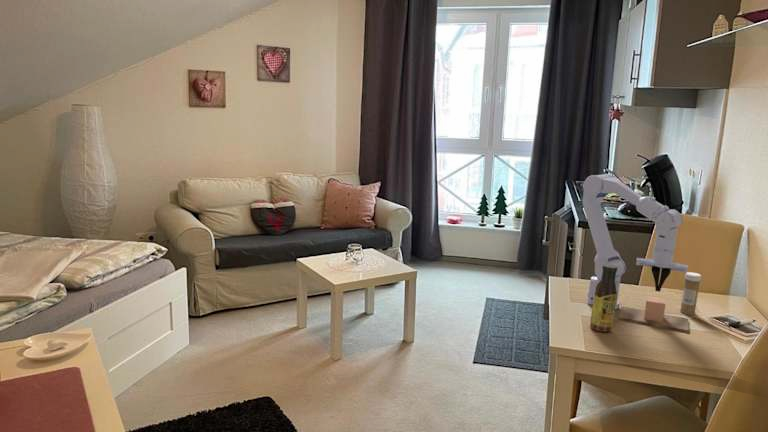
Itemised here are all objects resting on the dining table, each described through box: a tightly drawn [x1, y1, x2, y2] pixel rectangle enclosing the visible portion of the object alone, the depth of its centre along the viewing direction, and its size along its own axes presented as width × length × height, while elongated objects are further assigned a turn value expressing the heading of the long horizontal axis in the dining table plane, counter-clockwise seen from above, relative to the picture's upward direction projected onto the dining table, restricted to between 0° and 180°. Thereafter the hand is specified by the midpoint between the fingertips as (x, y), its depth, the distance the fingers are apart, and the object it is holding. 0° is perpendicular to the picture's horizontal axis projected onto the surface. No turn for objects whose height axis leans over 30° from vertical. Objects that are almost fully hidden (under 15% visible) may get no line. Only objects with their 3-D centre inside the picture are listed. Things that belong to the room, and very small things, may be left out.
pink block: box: [644, 295, 666, 322], centre depth 187 cm, size 5×5×6 cm
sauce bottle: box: [589, 264, 617, 333], centre depth 176 cm, size 6×6×20 cm
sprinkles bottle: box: [679, 271, 702, 316], centre depth 195 cm, size 5×5×14 cm
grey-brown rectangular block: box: [617, 305, 690, 334], centre depth 187 cm, size 20×11×6 cm, turn 64°
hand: (657, 290), depth 186 cm, fingers closed
